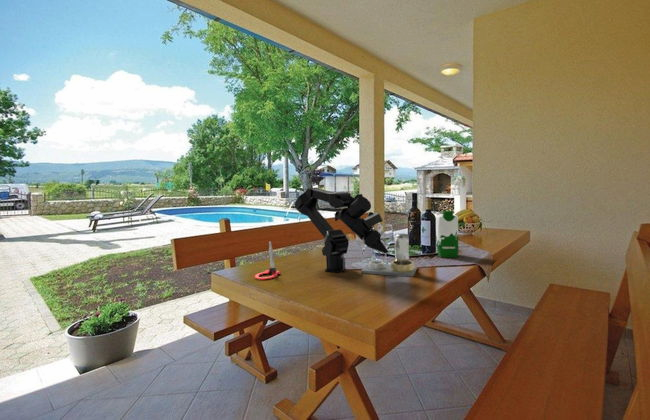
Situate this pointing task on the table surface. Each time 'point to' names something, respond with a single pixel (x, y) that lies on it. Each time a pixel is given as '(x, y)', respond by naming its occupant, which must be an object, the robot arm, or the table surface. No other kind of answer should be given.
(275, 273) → the tow hook
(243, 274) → the table surface
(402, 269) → the wide brass socket
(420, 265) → the table surface
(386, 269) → the fitting board
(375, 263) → the narrow aluminium socket
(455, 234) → the milk carton
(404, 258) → the disc
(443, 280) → the table surface
